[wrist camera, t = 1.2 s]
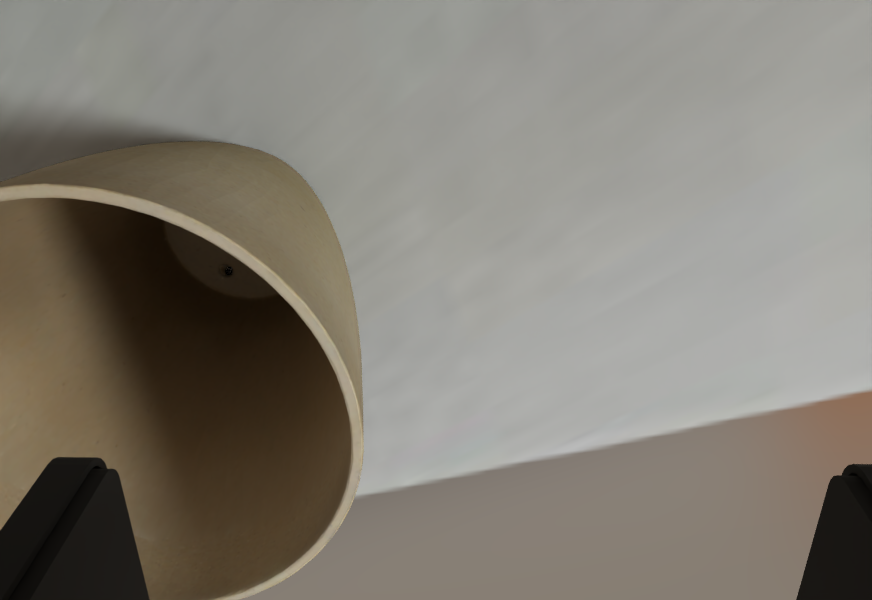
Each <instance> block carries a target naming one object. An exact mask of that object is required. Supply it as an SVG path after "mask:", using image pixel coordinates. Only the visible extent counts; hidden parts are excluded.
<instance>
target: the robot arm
mask: <svg viewBox="0 0 872 600" xmlns="http://www.w3.org/2000/svg"><path fill="white" fill-rule="evenodd" d="M0 600H150V599H149V595H148V591H147V587H146V583H145V578H144V574H143V570H142V566H141V562H140V558H139V554H138V550H137V546H136V542H135V538H134V534H133V530H132V525H131V521H130V517H129V513H128V509H127V505H126V501H125V497H124V493H123V489H122V485H121V481H120V477H119V474H118V472H117V471H116V470H115V469H107V466H106V464H105V462H104V461H103V460H102V459H101V458H98V457H57V458H54V459H52V460H51V461H50V462H49V463H48V464H47V466H46V467H45V469H44V470H43V471H42V473H41V474H40V476H39V477H38V478H37V480H36V481H35V483H34V484H33V485H32V487H31V488H30V490H29V491H28V492H27V494H26V495H25V497H24V498H23V499H22V501H21V502H20V504H19V505H18V506H17V508H16V509H15V511H14V512H13V513H12V515H11V516H10V518H9V519H8V520H7V522H6V523H5V525H4V526H3V527H2V529H1V530H0ZM796 600H872V464H871V465H870V464H869V465H868V464H867V465H866V464H852V465H848V466H847V467H846V468H845V469H844V471H843V473H842V476H833V478H832V479H831V480H830V483H829V485H828V489H827V492H826V496H825V500H824V503H823V506H822V510H821V514H820V517H819V521H818V524H817V528H816V532H815V535H814V539H813V542H812V546H811V549H810V553H809V556H808V560H807V564H806V567H805V571H804V575H803V578H802V581H801V585H800V589H799V592H798V596H797V599H796Z"/></svg>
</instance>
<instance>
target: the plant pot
mask: <svg viewBox="0 0 872 600" xmlns="http://www.w3.org/2000/svg"><path fill="white" fill-rule="evenodd" d="M227 267H231V268H232V274H231V275H226V273H225V269H226V268H227ZM363 451H364V449H363V394H362V365H361V349H360V339H359V329H358V322H357V315H356V308H355V302H354V297H353V292H352V287H351V282H350V278H349V274H348V270H347V266H346V263H345V259H344V256H343V253H342V249H341V246H340V244H339V241H338V238H337V236H336V233H335V230H334V228H333V226H332V223H331V221H330V219H329V217H328V215H327V213H326V211H325V209H324V207H323V206H322V204H321V202H320V200H319V199H318V197H317V196H316V194H315V193H314V191H313V190H312V188H311V187H310V186H309V185H308V183H307V182H306V181H305V180H304V179H303V178H302V176H301V175H300V174H298V173H297V172H296V171H295V170H294V169H293V168H292V167H290V166H289V165H288V164H287V163H285V162H283V161H282V160H280V159H278V158H277V157H275V156H273V155H270V154H268V153H265V152H263V151H260V150H257V149H253V148H250V147H245V146H240V145H236V144H228V143H219V142H197V141H188V142H167V143H156V144H146V145H140V146H134V147H128V148H122V149H115V150H111V151H106V152H101V153H97V154H92V155H88V156H84V157H80V158H76V159H72V160H68V161H65V162H61V163H58V164H55V165H51V166H48V167H44V168H41V169H38V170H35V171H32V172H29V173H26V174H23V175H20V176H17V177H14V178H11V179H8V180H5V181H2V182H0V530H1V529H2V527H3V526H4V525H5V523H6V522H7V520H8V519H9V518H10V516H11V515H12V513H13V512H14V511H15V509H16V508H17V506H18V505H19V504H20V502H21V501H22V499H23V498H24V497H25V495H26V494H27V492H28V491H29V490H30V488H31V487H32V485H33V484H34V483H35V481H36V480H37V478H38V477H39V476H40V474H41V473H42V471H43V470H44V469H45V467H46V466H47V464H48V463H49V462H50V461H51V460H52V459H54V458H57V457H98V458H101V459H102V460H103V461H104V462H105V464H106V466H107V469H115V470H116V471H117V472H118V474H119V477H120V481H121V485H122V489H123V493H124V497H125V501H126V505H127V509H128V513H129V517H130V521H131V525H132V530H133V534H134V538H135V542H136V546H137V550H138V554H139V558H140V562H141V566H142V570H143V574H144V578H145V583H146V587H147V591H148V595H149V599H150V600H240V599H243V598H246V597H248V596H252V595H254V594H257V593H259V592H261V591H263V590H265V589H267V588H270V587H272V586H274V585H276V584H278V583H280V582H281V581H283V580H285V579H287V578H288V577H290V576H291V575H293V574H294V573H296V572H297V571H298V570H299V569H301V568H302V567H303V566H304V565H306V564H307V563H308V562H309V561H310V560H311V559H313V558H314V557H315V556H316V555H317V554H318V553H319V552H320V551H321V550H322V549H323V548H324V547H325V545H326V544H327V543H328V542H329V541H330V539H331V538H332V537H333V536H334V534H335V533H336V531H337V530H338V528H339V527H340V525H341V524H342V522H343V520H344V519H345V517H346V515H347V513H348V511H349V509H350V507H351V504H352V502H353V499H354V497H355V494H356V491H357V487H358V484H359V481H360V475H361V470H362V463H363Z"/></svg>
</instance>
